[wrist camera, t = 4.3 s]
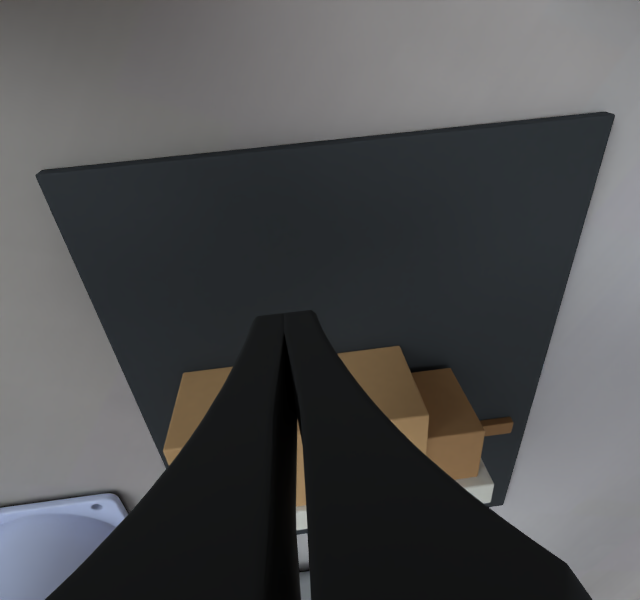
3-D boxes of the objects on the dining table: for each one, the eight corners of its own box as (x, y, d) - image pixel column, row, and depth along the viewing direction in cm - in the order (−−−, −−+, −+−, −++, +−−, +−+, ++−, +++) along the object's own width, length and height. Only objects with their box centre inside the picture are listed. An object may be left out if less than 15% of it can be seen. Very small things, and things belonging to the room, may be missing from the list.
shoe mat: (202, 540, 26) (200, 555, 25) (41, 169, 13) (28, 179, 13) (499, 497, 26) (506, 511, 26) (606, 111, 14) (624, 116, 13)
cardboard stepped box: (203, 454, 21) (188, 546, 17) (176, 369, 18) (151, 457, 14) (451, 420, 21) (491, 503, 17) (461, 333, 18) (510, 409, 15)
